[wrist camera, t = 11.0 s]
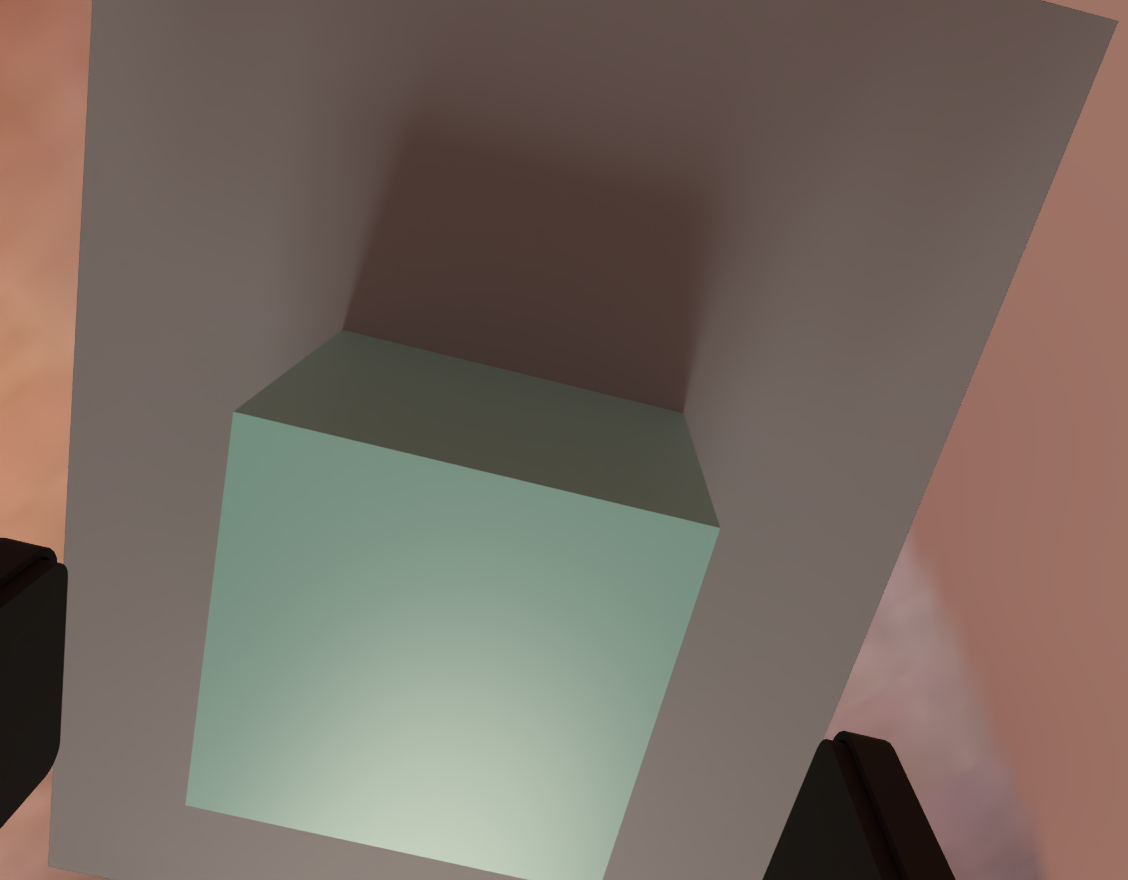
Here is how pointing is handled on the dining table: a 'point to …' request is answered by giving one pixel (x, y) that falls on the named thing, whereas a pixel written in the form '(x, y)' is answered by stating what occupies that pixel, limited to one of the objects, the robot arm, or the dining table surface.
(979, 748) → the dining table surface
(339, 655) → the seafoam cuboid
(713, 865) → the post base
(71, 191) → the dining table surface
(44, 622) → the robot arm
